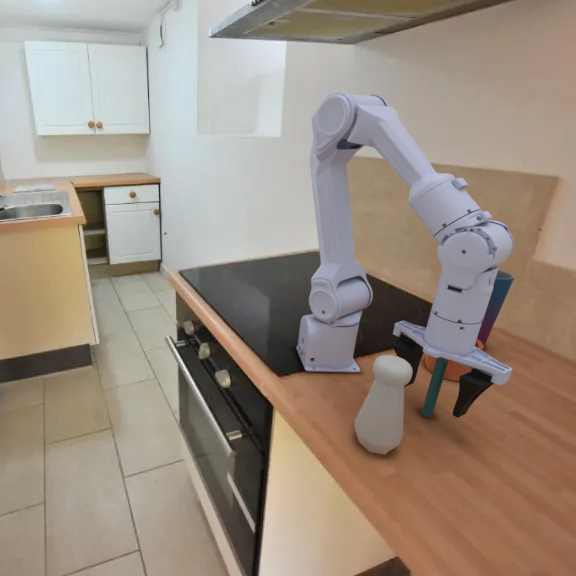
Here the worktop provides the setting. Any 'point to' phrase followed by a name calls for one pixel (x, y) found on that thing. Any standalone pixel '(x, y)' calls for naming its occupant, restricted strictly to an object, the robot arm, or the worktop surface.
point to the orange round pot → (451, 365)
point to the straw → (434, 387)
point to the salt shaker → (384, 406)
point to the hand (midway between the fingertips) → (431, 398)
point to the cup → (495, 303)
